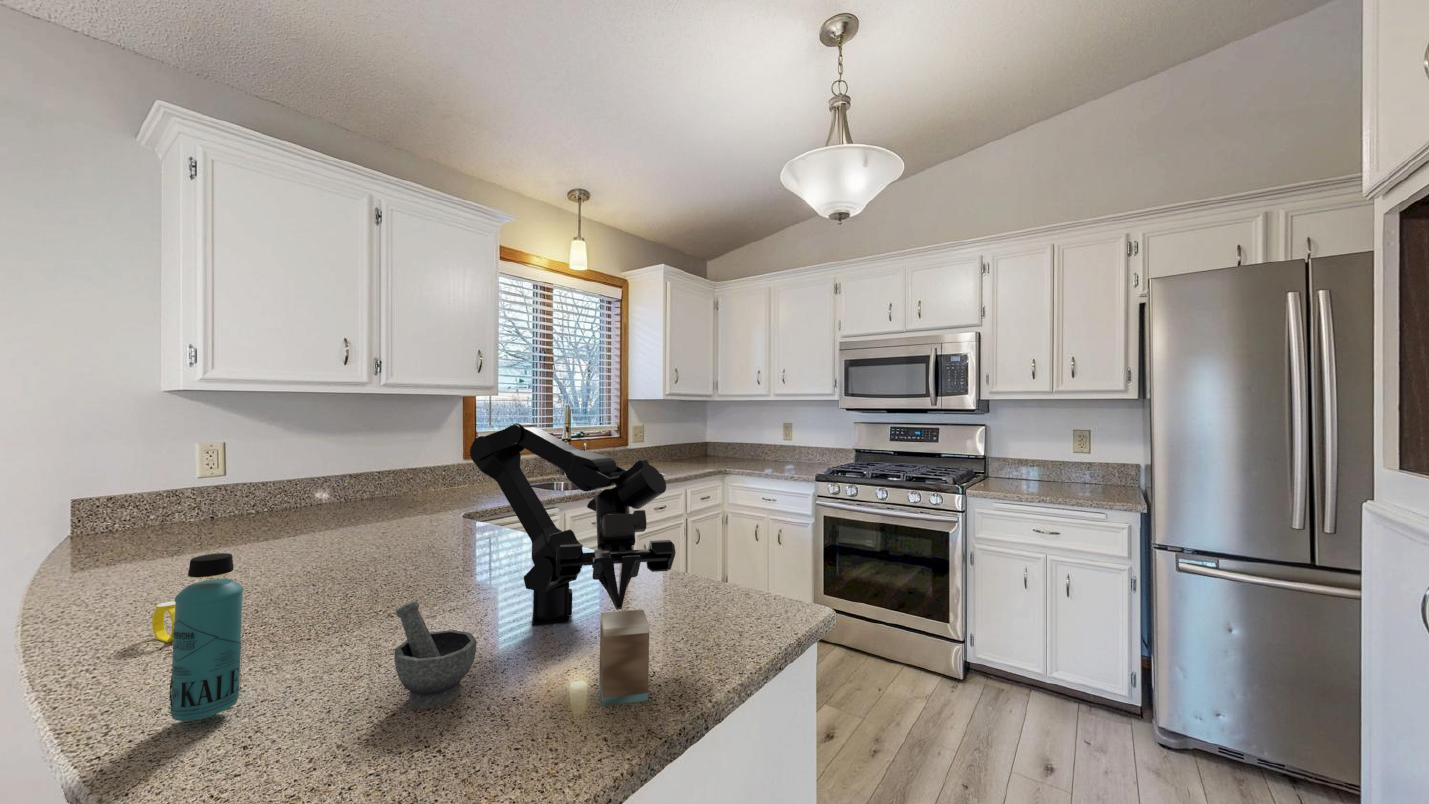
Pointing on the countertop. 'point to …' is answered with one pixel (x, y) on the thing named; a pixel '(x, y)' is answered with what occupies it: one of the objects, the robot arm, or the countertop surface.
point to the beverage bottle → (206, 641)
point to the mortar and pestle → (432, 660)
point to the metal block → (624, 657)
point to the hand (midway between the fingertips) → (619, 608)
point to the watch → (159, 621)
